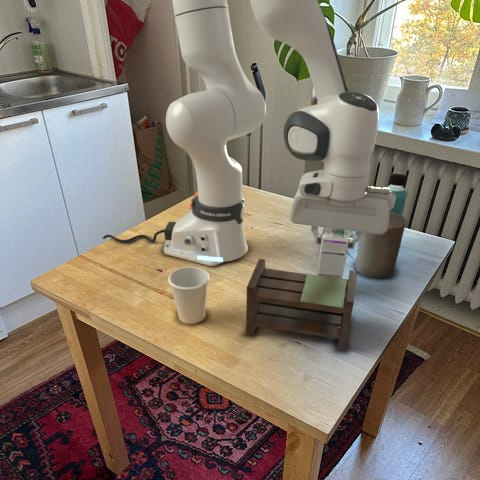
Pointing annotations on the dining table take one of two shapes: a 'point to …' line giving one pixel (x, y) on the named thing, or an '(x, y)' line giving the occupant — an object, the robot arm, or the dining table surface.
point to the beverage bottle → (398, 191)
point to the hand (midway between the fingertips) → (334, 245)
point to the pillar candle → (381, 249)
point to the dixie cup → (189, 293)
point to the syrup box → (333, 252)
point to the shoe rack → (300, 302)
